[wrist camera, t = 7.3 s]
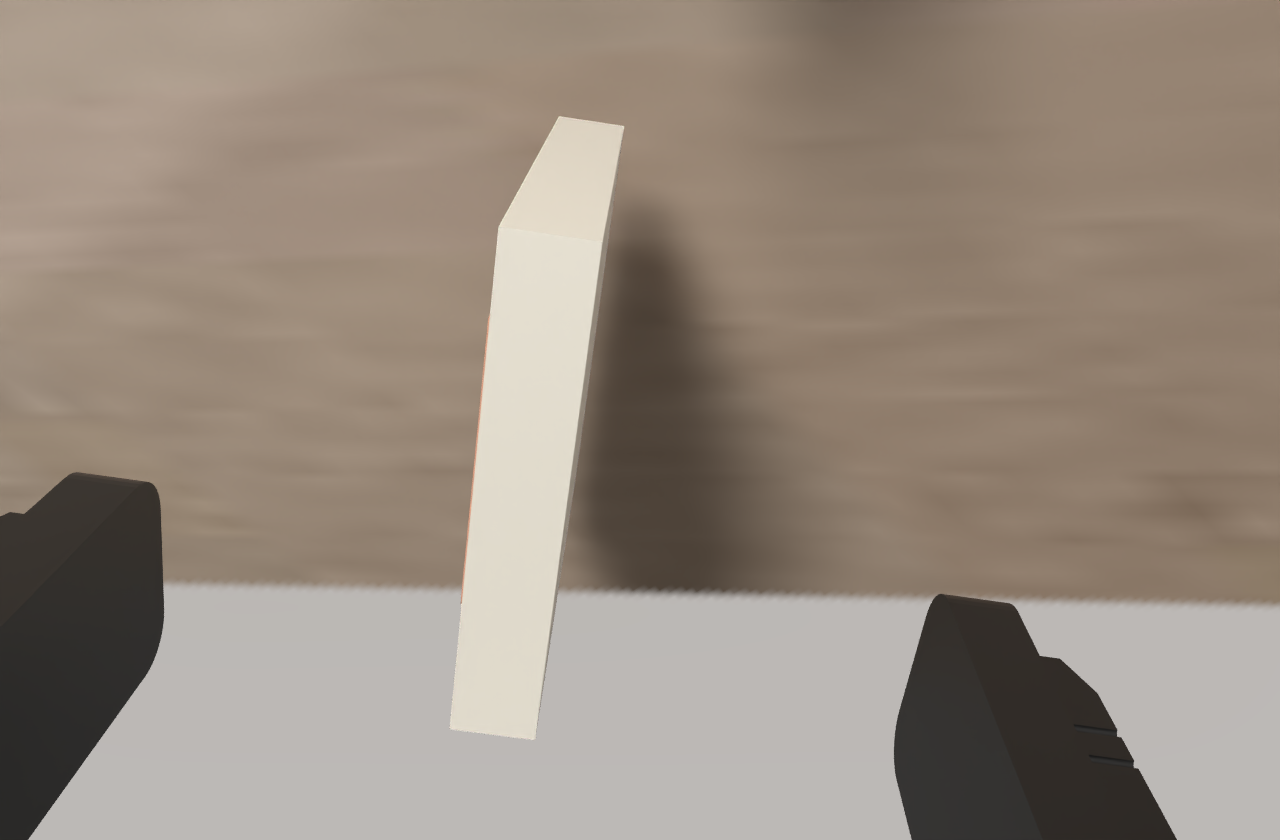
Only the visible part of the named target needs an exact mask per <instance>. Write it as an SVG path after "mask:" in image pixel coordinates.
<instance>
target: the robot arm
mask: <svg viewBox="0 0 1280 840" xmlns="http://www.w3.org/2000/svg"><path fill="white" fill-rule="evenodd" d="M163 595H164V594H163V565H162V536H161V508H160V499H159V495H158V492H157V489H156V488H155V486H154V485H153V484H152V483H149V482H144V481H137V480H130V479H122V478H115V477H108V476H101V475H94V474H86V473H79V472H76V473H72V474H70V475H68V476H67V477H66V478H64V479H63V480H62V481H61V482H60V483H59V484H58V485H56V486H55V487H54V488H53V489H52V490H51V491H50V492H49V493H47V494H46V495H45V496H44V497H43V498H42V499H41V500H40V501H38V502H37V503H36V504H35V505H34V506H33V507H32V508H31V509H30V510H28V511H27V512H26V513H25V514H20V513H12V512H10V513H7V514H5V515H3V516H0V840H28V839H29V837H30V836H31V835H32V833H33V832H34V830H35V829H36V828H37V826H38V825H39V824H40V822H41V820H42V819H43V818H44V816H45V815H46V814H47V812H48V811H49V810H50V808H51V807H52V805H53V804H54V803H55V801H56V800H57V798H58V797H59V796H60V794H61V793H62V791H63V790H64V789H65V787H66V786H67V785H68V783H69V782H70V780H71V779H72V778H73V776H74V775H75V773H76V772H77V771H78V769H79V768H80V766H81V765H82V763H83V762H84V761H85V759H86V758H87V757H88V755H89V754H90V752H91V751H92V749H93V748H94V747H95V746H96V744H97V742H98V741H99V740H100V739H101V737H102V736H103V734H104V733H105V731H106V730H107V729H108V727H109V726H110V725H111V723H112V722H113V720H114V719H115V718H116V716H117V715H118V713H119V712H120V710H121V709H122V708H123V706H124V705H125V704H126V702H127V701H128V700H129V698H130V697H131V695H132V694H133V693H134V691H135V690H136V688H137V687H138V686H139V684H140V683H141V681H142V680H143V679H144V677H145V676H146V674H147V673H148V671H149V669H150V667H151V665H152V663H153V661H154V658H155V656H156V653H157V650H158V647H159V643H160V639H161V635H162V629H163V621H164V596H163ZM1133 763H1134V760H1133V758H1132V756H1131V754H1130V752H1129V751H1128V749H1127V747H1126V745H1125V743H1124V741H1123V740H1122V738H1121V737H1117V728H1116V727H1115V725H1114V723H1113V721H1112V719H1111V717H1110V716H1109V714H1108V712H1107V710H1106V708H1105V707H1104V705H1103V703H1102V701H1101V699H1100V697H1099V695H1098V694H1097V693H1096V692H1095V691H1094V690H1093V689H1092V688H1091V687H1090V686H1089V685H1088V684H1087V683H1085V681H1084V680H1082V679H1081V678H1080V677H1079V676H1078V675H1077V674H1076V673H1075V672H1074V671H1073V670H1071V668H1069V667H1068V666H1067V665H1066V664H1065V663H1064V662H1063V661H1062V660H1061V659H1057V658H1050V657H1043V656H1039V654H1038V652H1037V650H1036V647H1035V645H1034V643H1033V641H1032V639H1031V637H1030V635H1029V633H1028V631H1027V629H1026V627H1025V625H1024V623H1023V621H1022V619H1021V617H1020V615H1019V613H1018V611H1017V609H1016V608H1015V607H1014V606H1013V605H1012V604H1010V603H1003V602H996V601H989V600H981V599H974V598H967V597H960V596H952V595H945V594H939V595H937V596H936V597H935V598H934V599H933V601H932V603H931V605H930V607H929V610H928V613H927V616H926V619H925V623H924V626H923V630H922V633H921V637H920V640H919V644H918V647H917V651H916V654H915V658H914V661H913V665H912V668H911V672H910V675H909V679H908V683H907V686H906V689H905V693H904V697H903V700H902V703H901V707H900V710H899V715H898V719H897V724H896V731H895V741H894V765H895V774H896V779H897V783H898V787H899V791H900V795H901V798H902V803H903V807H904V811H905V815H906V818H907V823H908V826H909V830H910V834H911V838H912V840H1177V839H1176V837H1175V835H1174V834H1173V832H1172V830H1171V828H1170V826H1169V824H1168V823H1167V821H1166V819H1165V817H1164V815H1163V813H1162V811H1161V809H1160V808H1159V806H1158V804H1157V802H1156V800H1155V798H1154V797H1153V795H1152V793H1151V791H1150V789H1149V787H1148V786H1147V784H1146V782H1145V780H1144V778H1143V776H1142V775H1141V773H1140V771H1139V769H1136V768H1134V766H1133Z"/></svg>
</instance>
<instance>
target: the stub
mask: <svg viewBox="0 0 1280 840" xmlns="http://www.w3.org/2000/svg"><path fill="white" fill-rule="evenodd" d="M623 131H624V126H620V125H614V124H607V123H600V122H594V121H587V120H581V119H574V118H567V117H561V116H559V117H558V119H557V121H556V123H555V125H554V127H553V128H552V130H551V132H550V134H549V136H548V137H547V139H546V141H545V143H544V145H543V147H542V148H541V150H540V152H539V154H538V156H537V158H536V159H535V161H534V163H533V165H532V167H531V169H530V170H529V172H528V174H527V176H526V178H525V180H524V181H523V183H522V185H521V187H520V189H519V190H518V192H517V194H516V196H515V198H514V200H513V201H512V203H511V205H510V207H509V209H508V211H507V212H506V214H505V216H504V218H503V220H502V222H501V223H500V225H499V229H498V239H497V249H496V260H495V270H494V280H493V290H492V300H491V311H490V315H489V317H488V327H487V338H486V348H485V358H484V368H483V379H482V389H481V399H480V410H479V420H478V430H477V440H476V451H475V461H474V471H473V481H472V492H471V502H470V512H469V523H468V533H467V543H466V553H465V564H464V574H463V584H462V595H461V604H462V607H461V618H460V628H459V638H458V649H457V659H456V670H455V679H454V689H453V699H452V710H451V720H450V729H452V730H459V731H467V732H474V733H482V734H491V735H498V736H506V737H513V738H521V739H529V740H535V737H536V730H537V724H538V717H539V710H540V705H541V698H542V691H543V685H544V679H545V672H546V666H547V659H548V653H549V647H550V640H551V634H552V627H553V621H554V614H555V608H556V602H557V595H558V589H559V582H560V576H561V570H562V563H563V557H564V550H565V544H566V537H567V531H568V525H569V518H570V512H571V505H572V499H573V492H574V486H575V480H576V473H577V466H578V458H579V451H580V444H581V436H582V429H583V422H584V415H585V407H586V400H587V393H588V386H589V378H590V371H591V364H592V356H593V349H594V342H595V335H596V327H597V320H598V313H599V306H600V298H601V291H602V284H603V277H604V269H605V262H606V255H607V247H608V240H609V233H610V226H611V218H612V211H613V204H614V197H615V189H616V182H617V175H618V168H619V160H620V153H621V146H622V138H623Z"/></svg>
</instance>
